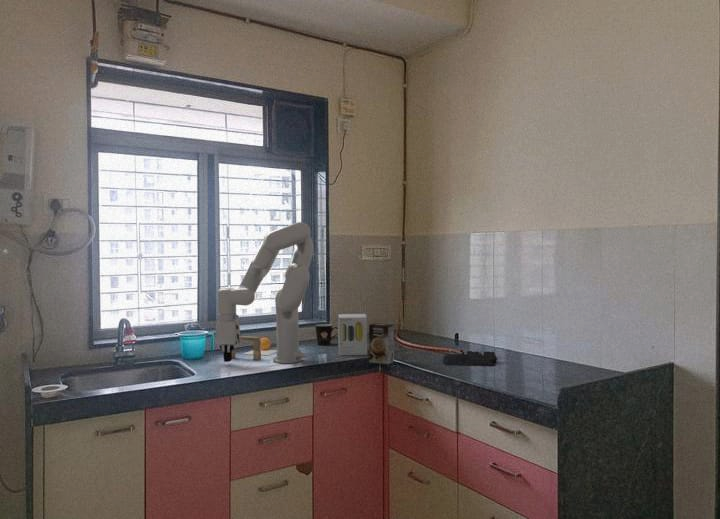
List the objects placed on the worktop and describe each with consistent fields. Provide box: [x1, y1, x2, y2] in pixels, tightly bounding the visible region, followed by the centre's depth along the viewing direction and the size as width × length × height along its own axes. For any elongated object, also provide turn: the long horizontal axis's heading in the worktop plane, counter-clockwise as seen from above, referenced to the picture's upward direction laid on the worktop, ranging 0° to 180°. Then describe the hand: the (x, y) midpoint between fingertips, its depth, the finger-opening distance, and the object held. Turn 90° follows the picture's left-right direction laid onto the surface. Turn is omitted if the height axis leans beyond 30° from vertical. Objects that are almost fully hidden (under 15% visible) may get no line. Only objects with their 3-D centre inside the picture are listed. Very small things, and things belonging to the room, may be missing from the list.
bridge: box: [232, 335, 262, 361], centre depth 231 cm, size 3×15×10 cm, turn 71°
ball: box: [261, 337, 272, 350], centre depth 252 cm, size 6×6×6 cm
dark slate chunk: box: [442, 350, 498, 367], centre depth 218 cm, size 15×22×5 cm
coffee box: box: [368, 322, 395, 365], centre depth 220 cm, size 9×6×16 cm
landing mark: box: [242, 348, 277, 356], centre depth 246 cm, size 13×13×1 cm
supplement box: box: [337, 313, 368, 356], centre depth 242 cm, size 13×13×18 cm
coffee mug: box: [314, 323, 338, 347], centre depth 265 cm, size 12×9×10 cm
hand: (227, 361), depth 219 cm, fingers closed
